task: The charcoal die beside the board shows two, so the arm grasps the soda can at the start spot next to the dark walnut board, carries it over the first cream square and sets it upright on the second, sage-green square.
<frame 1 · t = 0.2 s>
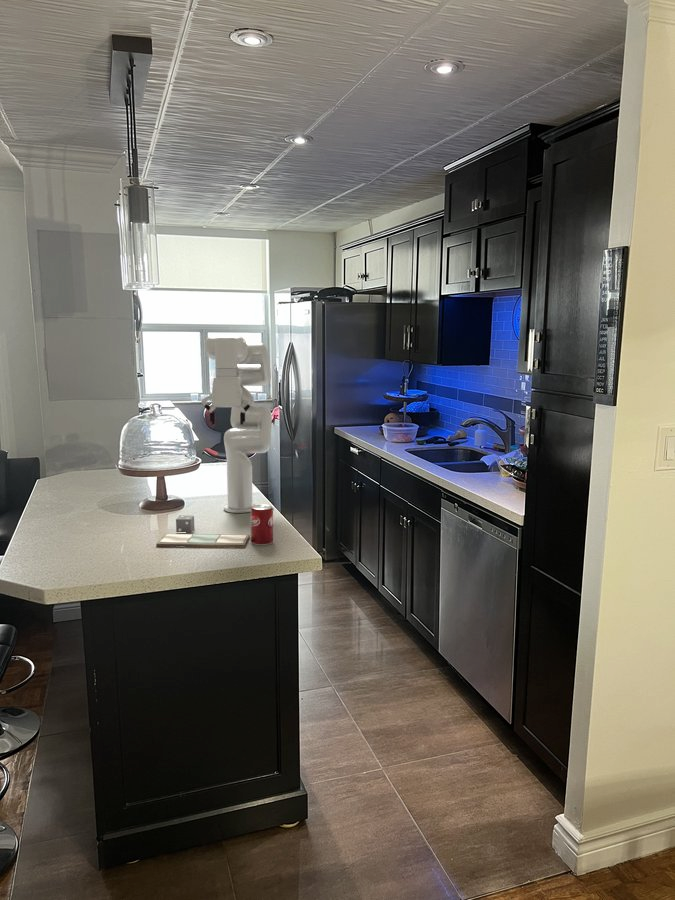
hand: (227, 424, 228), 36 cm above the worktop, tool pointing down, fingers open, 9 cm apart
board: (204, 542, 217), on the worktop
soda can: (262, 543, 217), on the worktop
die: (185, 531, 229), on the worktop
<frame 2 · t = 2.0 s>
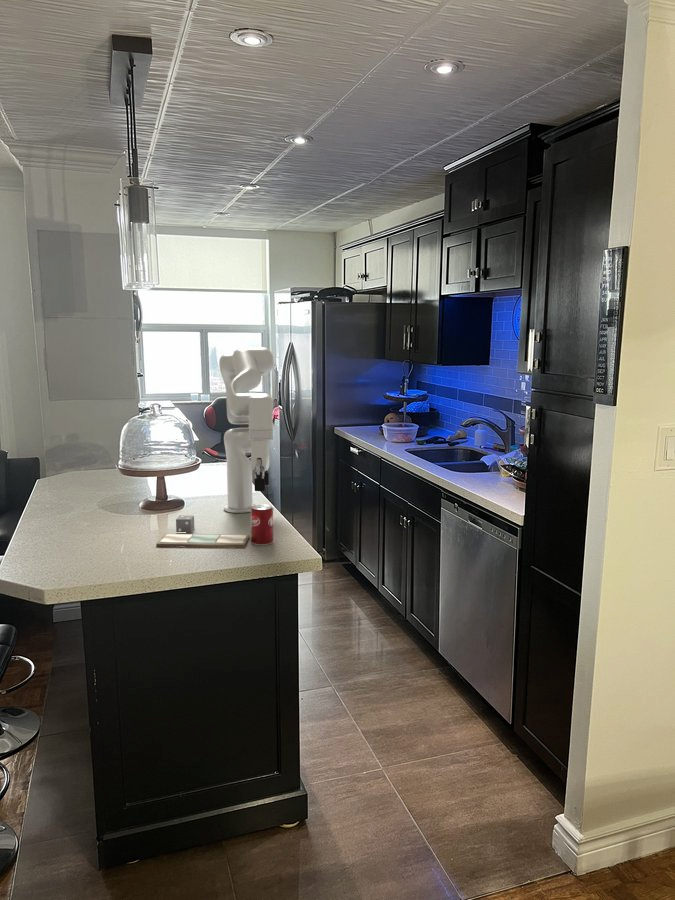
hand: (261, 487, 213), 18 cm above the worktop, tool pointing down, fingers open, 9 cm apart
nothing on the worktop moved.
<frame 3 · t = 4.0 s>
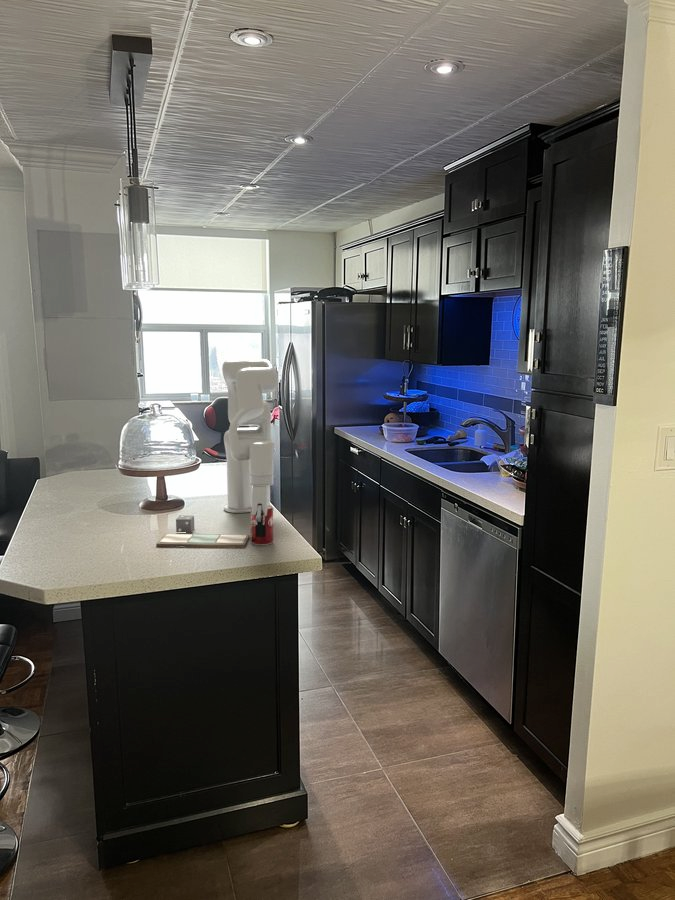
hand: (262, 532, 216), 3 cm above the worktop, tool pointing down, fingers closed on soda can, 7 cm apart
soda can: (262, 543, 217), on the worktop, touching gripper
everything else where it was.
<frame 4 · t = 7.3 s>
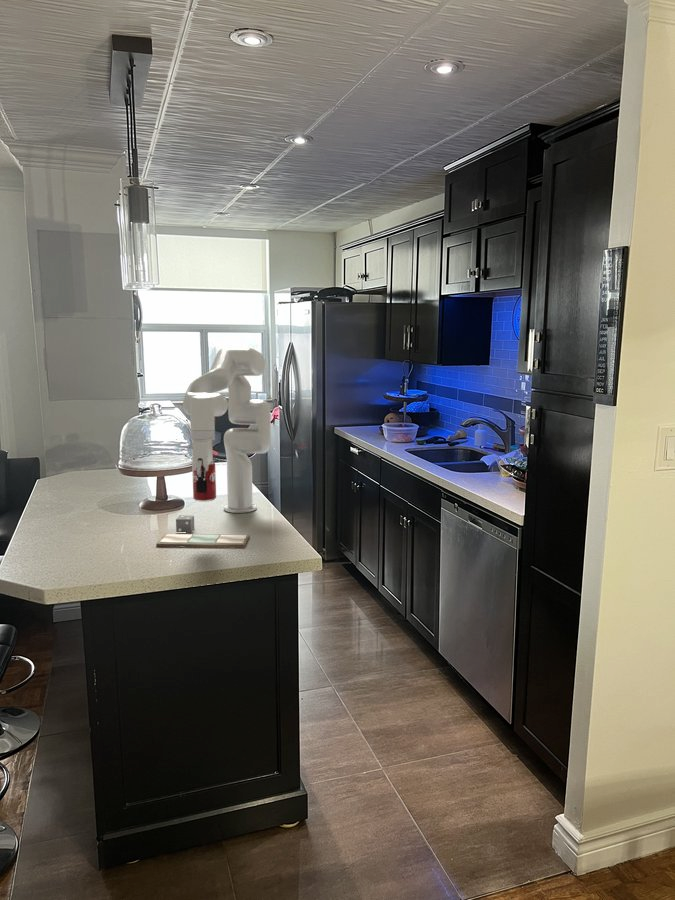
hand: (204, 489, 214), 18 cm above the worktop, tool pointing down, fingers closed on soda can, 7 cm apart
soda can: (204, 499, 215), point 14 cm above the worktop, touching gripper
everything else where it was.
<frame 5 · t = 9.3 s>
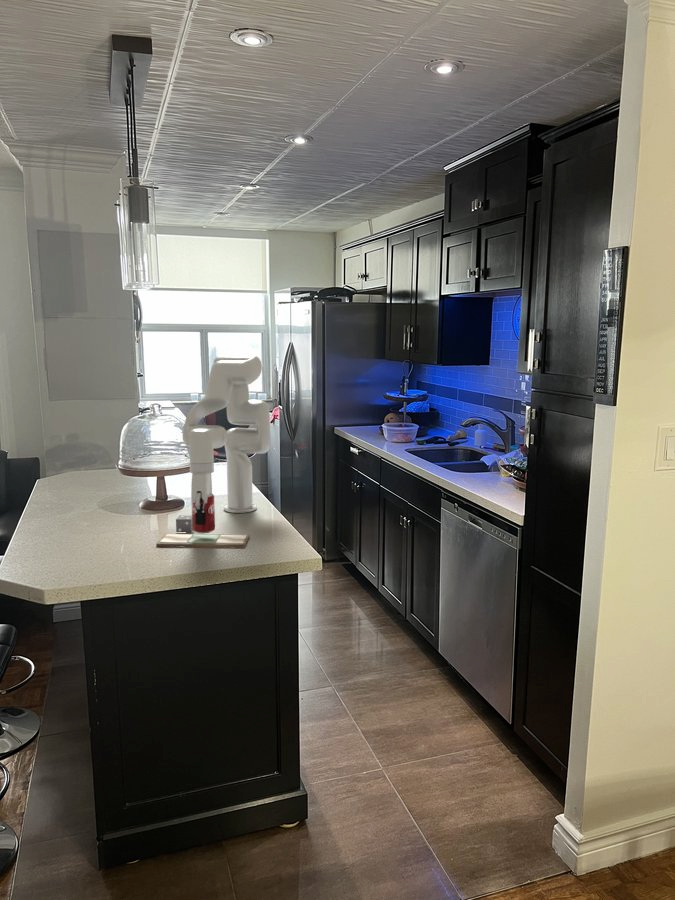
hand: (203, 520, 216), 7 cm above the worktop, tool pointing down, fingers closed on soda can, 7 cm apart
soda can: (203, 531, 217), point 4 cm above the worktop, touching gripper
everything else where it was.
when the fingers open (6 cm above the worktop, at t = 10.6 s): soda can drops 1 cm, resting on board.
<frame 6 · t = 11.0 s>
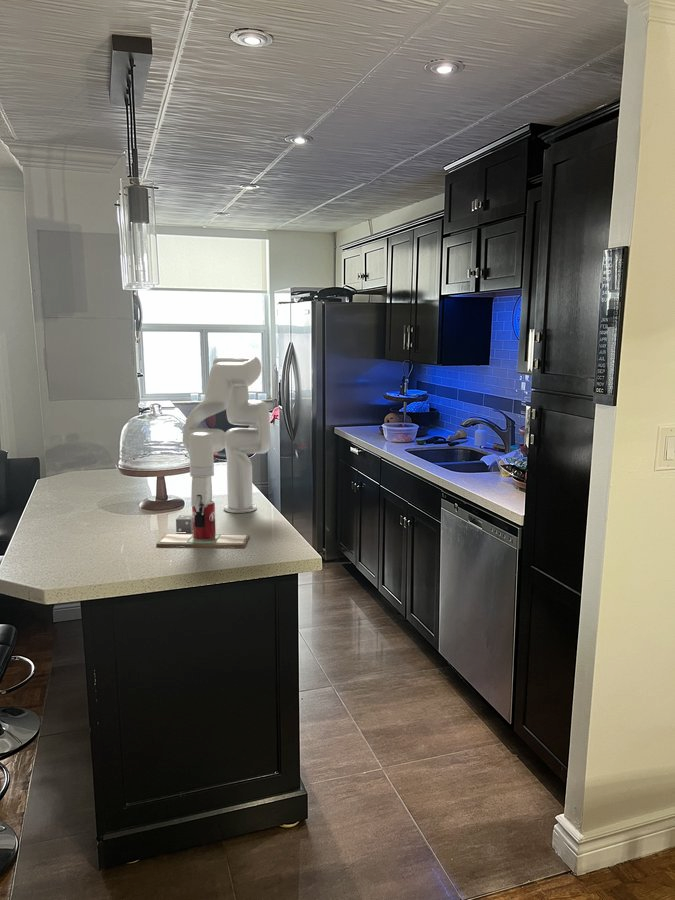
hand: (203, 522, 216), 6 cm above the worktop, tool pointing down, fingers open, 9 cm apart
soda can: (204, 538, 217), point 1 cm above the worktop, touching board
everything else where it was.
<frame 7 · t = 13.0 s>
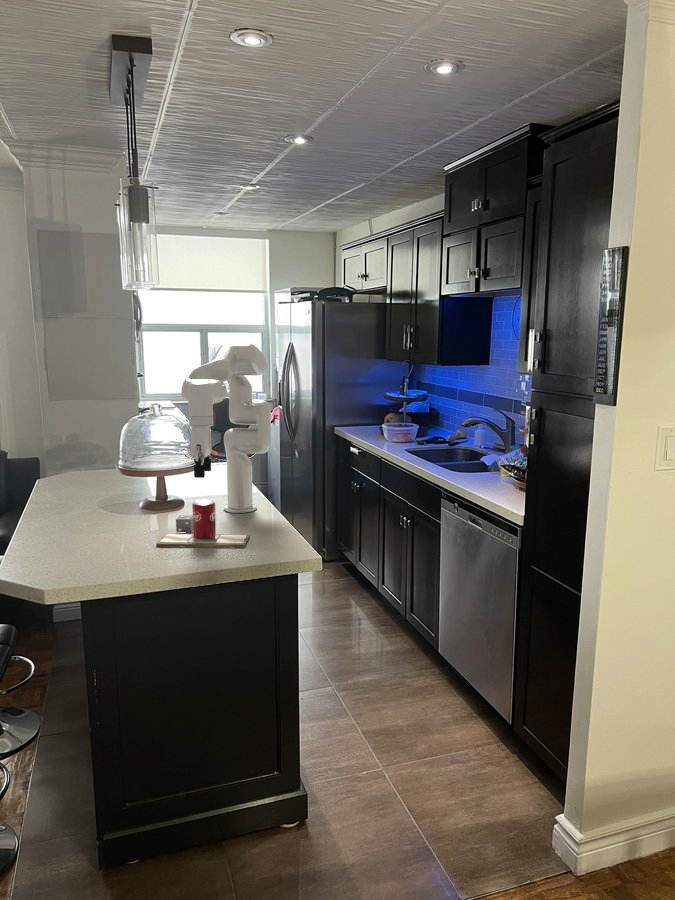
hand: (202, 474, 214), 22 cm above the worktop, tool pointing down, fingers open, 9 cm apart
nothing on the worktop moved.
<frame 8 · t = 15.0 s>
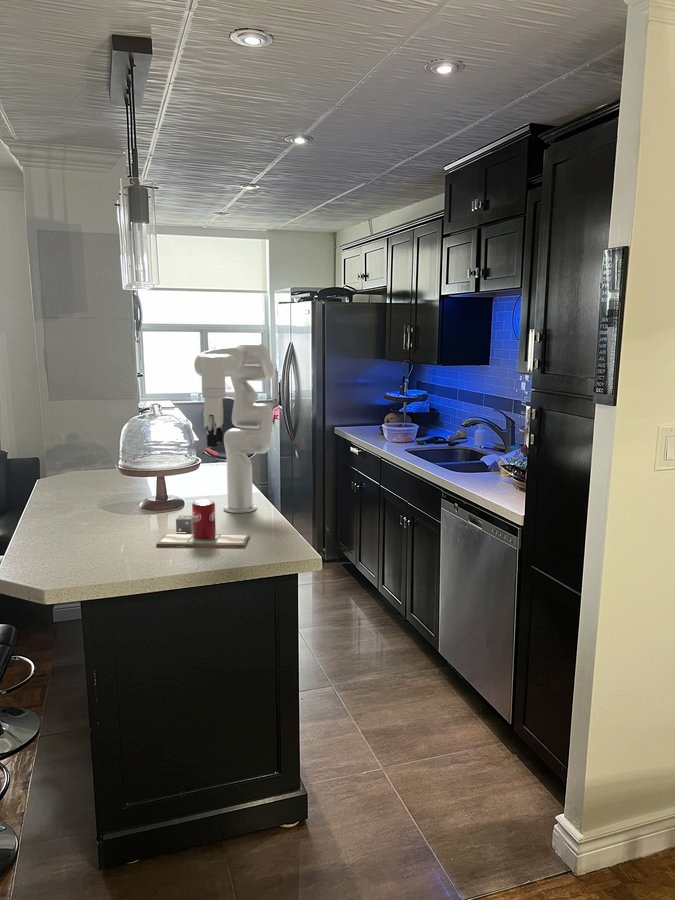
hand: (215, 444, 224), 30 cm above the worktop, tool pointing down, fingers open, 9 cm apart
nothing on the worktop moved.
at the end: soda can 0.3 cm off-centre on the board, point 1.0 cm above the board's base; soda can tilted 0°; the gripper is holding nothing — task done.
